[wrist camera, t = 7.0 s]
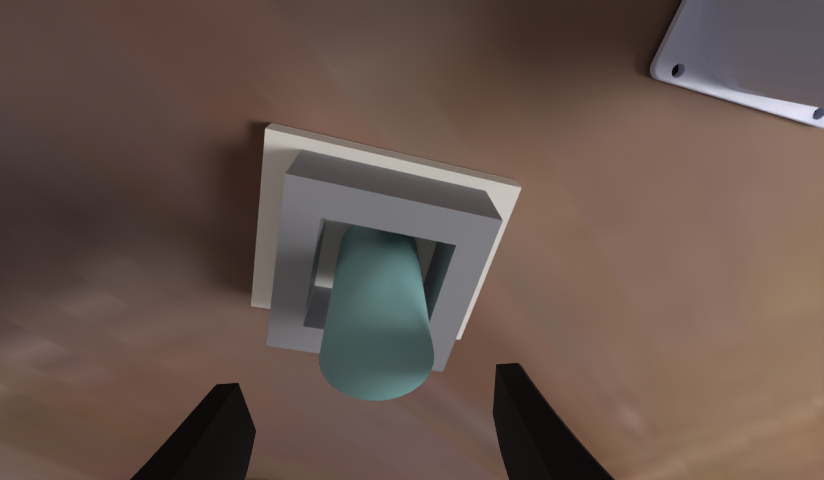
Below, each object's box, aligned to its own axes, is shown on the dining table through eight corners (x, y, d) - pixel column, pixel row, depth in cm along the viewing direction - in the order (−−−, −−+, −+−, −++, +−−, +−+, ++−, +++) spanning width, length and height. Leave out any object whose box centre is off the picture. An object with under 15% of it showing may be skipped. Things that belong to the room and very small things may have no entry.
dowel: (432, 244, 19) (457, 350, 13) (385, 295, 20) (387, 414, 14) (370, 201, 18) (364, 294, 11) (324, 258, 19) (296, 370, 12)
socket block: (515, 179, 18) (544, 216, 15) (457, 327, 23) (470, 383, 19) (271, 122, 17) (240, 149, 13) (256, 293, 21) (229, 348, 17)
